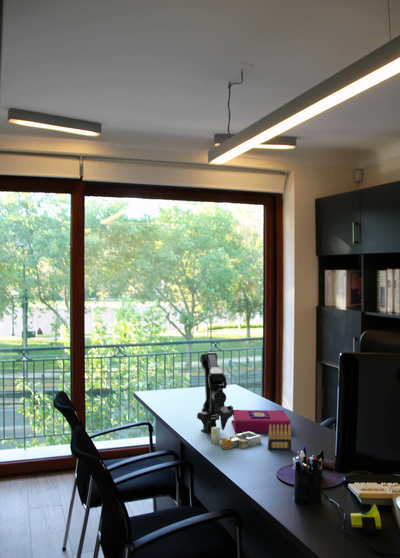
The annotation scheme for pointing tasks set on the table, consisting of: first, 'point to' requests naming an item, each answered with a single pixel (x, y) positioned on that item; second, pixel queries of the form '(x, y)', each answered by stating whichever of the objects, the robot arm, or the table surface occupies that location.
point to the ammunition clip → (279, 438)
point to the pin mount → (241, 442)
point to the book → (259, 420)
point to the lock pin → (229, 443)
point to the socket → (250, 438)
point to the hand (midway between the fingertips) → (215, 431)
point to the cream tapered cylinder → (215, 435)
